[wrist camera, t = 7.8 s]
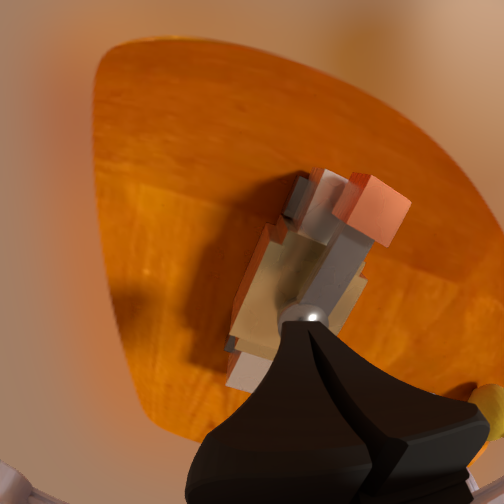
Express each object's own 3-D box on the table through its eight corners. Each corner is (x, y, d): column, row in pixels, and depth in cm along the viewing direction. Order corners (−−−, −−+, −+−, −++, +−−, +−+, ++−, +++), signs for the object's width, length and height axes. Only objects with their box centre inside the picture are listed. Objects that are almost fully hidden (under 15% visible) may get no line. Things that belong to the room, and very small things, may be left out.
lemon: (445, 408, 24) (476, 458, 17) (473, 369, 23) (512, 416, 15) (473, 407, 25) (502, 450, 17) (498, 371, 23) (533, 412, 16)
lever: (306, 336, 16) (314, 363, 13) (267, 320, 15) (269, 346, 13) (390, 196, 13) (413, 203, 11) (350, 171, 13) (369, 173, 11)
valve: (371, 196, 18) (408, 209, 13) (283, 368, 22) (289, 415, 17) (292, 159, 17) (307, 158, 13) (213, 346, 21) (204, 392, 16)
